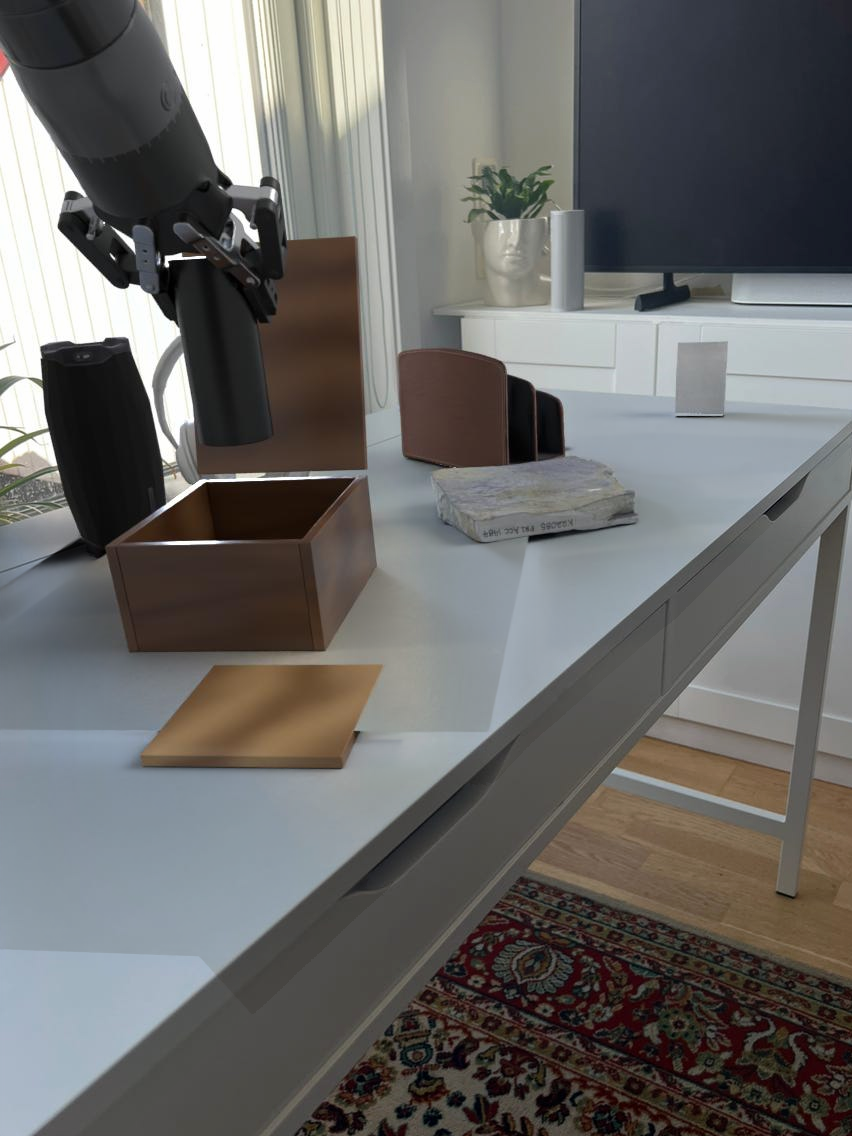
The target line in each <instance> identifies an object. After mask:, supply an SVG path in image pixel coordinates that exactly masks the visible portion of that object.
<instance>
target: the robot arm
mask: <svg viewBox="0 0 852 1136" xmlns="http://www.w3.org/2000/svg"><path fill="white" fill-rule="evenodd" d="M0 50H1V52H2V54H3V56H4V57H5V59H6V61H7V63H8V65H9V67H10V69H11V71H12V74H13V76H14V78H15V80H16V82H17V85H18V87H19V89H20V91H21V93H22V94H23V96H24V98H25V100H26V101H27V103H28V104H29V106H30V108H31V110H32V111H33V113H34V115H35V116H36V117H37V119H38V121H39V122H40V124H41V125H42V127H43V128H44V130H45V131H46V133H47V134H48V136H49V138H50V140H51V141H52V143H53V144H54V146H55V148H56V149H57V150H58V152H59V154H60V156H61V158H63V160H64V162H65V164H66V165H67V166H68V168H69V170H70V171H71V173H72V175H73V176H74V178H75V179H76V181H77V182H78V184H79V186H80V188H81V189H82V190H83V192H84V193H85V196H84V195H83V194H82V193H80V192H79V191H76V190H68V191H66V192H65V194H64V197H63V200H62V203H61V206H60V212H59V217H58V220H57V221H58V222H57V230H58V231H59V232H60V233H61V234H62V235H63V236H64V237H65V238H66V239H67V240H68V241H69V242H70V243H71V245H73V246H74V247H75V248H76V249H77V250H78V252H80V254H81V255H82V256H83V257H84V258H86V260H87V261H88V262H89V263H90V264H91V265H92V266H93V267H94V268H95V269H96V270H97V271H98V272H99V273H100V274H101V275H102V276H103V277H104V278H105V279H106V280H107V281H108V282H109V283H110V284H111V285H112V286H113V287H115V288H117V289H120V290H126V289H128V288H130V285H135V286H139V287H140V289H141V290H142V291H143V292H145V293H147V294H149V295H151V297H152V299H153V300H154V302H155V303H156V305H157V306H158V309H159V310H160V311H161V313H162V314H163V316H164V317H165V318H166V319H168V320H169V321H170V322H174V324H175V325H176V327H177V328H178V329H179V324H178V319H177V313H176V307H175V302H174V296H173V290H172V285H171V279H170V273H169V268H168V266H166V257H169V256H176V255H178V254H182V253H183V252H186V253H194V254H203V255H204V256H205V257H206V258H207V259H208V260H209V261H210V262H211V263H212V264H213V265H214V266H216V267H217V268H218V269H219V270H221V271H222V270H225V269H227V270H228V271H229V272H230V273H231V274H232V275H233V276H234V277H235V278H236V279H237V280H238V281H240V282H241V283H242V284H243V291H244V293H245V295H246V297H247V299H248V301H249V303H250V305H251V307H252V309H253V311H254V313H255V315H256V317H257V319H258V321H259V323H260V324H263V323H271V322H272V315H276V311H277V304H278V296H279V293H278V291H277V288H276V286H275V284H274V282H273V280H280V279H282V278H283V276H284V269H285V262H286V255H287V247H288V243H287V240H288V235H287V228H286V220H285V213H284V205H283V198H282V189H281V188H282V187H281V183H280V182H279V180H278V179H276V178H275V177H273V176H270V175H269V176H268V175H266V176H263V177H261V178H260V180H259V183H258V186H251V185H240V184H234V183H233V181H232V180H231V178H230V177H229V176H228V175H227V174H225V172H223V171H222V170H221V169H220V168H219V167H218V166H217V164H216V162H215V159H214V156H213V153H212V151H211V148H210V144H209V142H208V139H207V137H206V135H205V133H204V131H203V128H202V125H201V124H200V122H199V119H198V117H197V115H196V113H195V111H194V108H193V107H192V104H191V102H190V99H189V96H188V95H187V93H186V91H185V88H184V86H183V85H182V82H181V79H180V78H179V76H178V74H177V71H176V69H175V67H174V65H173V63H172V60H171V58H170V56H169V54H168V53H169V52H168V51H167V49H166V47H165V44H164V42H163V40H162V38H161V36H160V34H159V32H158V30H157V28H156V26H155V25H154V23H153V21H152V20H151V18H150V16H149V14H148V12H146V10H145V9H144V7H143V5H142V4H141V2H140V0H0ZM233 209H235V210H237V211H239V212H241V213H242V214H243V216H244V218H245V220H246V221H247V222H248V223H249V228H250V229H251V230H253V231H257V235H258V242H260V247H259V246H258V245H257V244H256V243H255V242H256V241H255V240H253V238H251V237H250V236H249V235H248V234H247V233H246V231H245V227H244V225H243V223H242V221H241V220H240V219H239V217H238V216H237V215H235V214H234V212H232V211H233ZM117 231H118V232H120V233H121V234H123V235H125V236H126V237H127V238H129V239H131V240H132V242H133V243H134V245H133V246H134V250H133V249H132V248H131V247H130V246H129V245H128V243H126V241H125V240H124V239H123V238H122V237H121V236H120V234H118V232H117ZM241 256H242V257H243V258H244V259H243V258H242V257H241Z"/></svg>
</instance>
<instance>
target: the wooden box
mask: <svg viewBox="0 0 852 1136" xmlns="http://www.w3.org/2000/svg"><path fill="white" fill-rule="evenodd" d="M369 488H370V487H369V478H368V475H367V474H363V475H362V474H361V475H360V474H359V475H332V476H331V475H329V476H326V475H325V476H309V477H291V478H264V477H262V478H261V477H260V478H259V477H258V478H236V479H223V480H200V481H199V482H197V483H196V484H194V485H191V486H190V487H188V488H187V489H186V490H184V491H183V492H181V493H180V494H178V495H177V496H176V497H174V498H172V499H171V500H170V501H168V502H166V505H164V506H163V507H161V508H160V509H158V510H157V511H155V512H154V513H153V514H151V515H150V516H148V517H147V518H145V519H144V520H142V521H141V522H140V523H138V524H137V525H135V526H134V527H132V528H131V529H129V530H128V531H127V532H125V533H124V534H122V535H121V536H119V537H118V538H117V539H115V540H114V541H112V542H111V543H109V544H108V545H106V546H105V549H106V551H105V553H106V559H107V562H108V566H109V571H110V575H111V579H112V580H111V581H112V585H113V587H114V593H115V596H116V601H117V606H118V610H119V615H120V619H121V623H122V629H123V631H124V632H123V633H124V636H125V641H126V646H127V650H128V652H129V653H256V652H257V653H260V652H263V653H264V652H265V653H267V652H274V653H275V652H279V653H280V652H281V653H282V652H327V651H326V650H327V649H328V648H329V646H330V644H331V643H332V641H333V639H334V638H335V636H336V634H337V633H338V631H339V629H340V628H341V626H342V624H343V623H344V621H345V619H346V618H347V616H348V614H349V613H350V612H351V610H352V609H353V607H354V605H355V603H356V602H357V600H358V598H359V596H360V595H361V593H362V592H363V590H364V588H365V587H366V585H367V583H368V582H369V580H370V579H371V577H372V575H373V573H374V572H375V570H376V568H377V566H378V563H377V562H378V561H377V552H376V542H375V536H374V535H375V533H374V525H373V516H372V506H371V498H370V497H371V496H370V489H369Z"/></svg>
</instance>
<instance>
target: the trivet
mask: <svg viewBox="0 0 852 1136" xmlns="http://www.w3.org/2000/svg"><path fill="white" fill-rule="evenodd" d="M384 666H385V664H381V663H380V664H215V665H213V666H212V667H211V669H210V670H209V671H208V672H207V674H206V675H205V676H204V677H203V679H201V681H199V683H198V684H197V685H196V687H195V688H194V689H193V691H191V692H190V694H189V695H188V696H187V698H186V699H185V700H184V702H182V704H181V705H180V706H179V707H178V709H177V710H176V711H174V713H173V715H171V717H170V718H169V719H168V720H167V722H165V724H164V725H163V727H162V728H161V729H160V730H159V731H158V732H157V734H156V735H155V736H154V737H153V739H152V740H151V741H150V742H149V743H148V744H147V746H146V747H145V748H144V750H142V752H141V753H140V754H139V756H140V763H141V766H142V767H170V768H171V767H177V768H178V767H180V768H181V767H183V768H185V767H187V768H188V767H189V768H191V767H192V768H278V769H279V768H281V769H282V768H287V769H289V768H290V769H293V768H294V769H343V768H344V766H345V765H346V763H347V760H348V758H349V756H350V754H351V751H352V749H353V747H354V744H355V743H356V740H357V738H358V736H359V733H360V730H355V729H356V727H357V725H358V723H359V720H360V718H361V716H362V714H363V712H364V710H365V707H366V705H367V703H368V701H369V699H370V697H371V694H372V692H373V691H374V688H375V686H376V684H377V682H378V680H379V677H380V675H381V673H382V670H383V668H384Z"/></svg>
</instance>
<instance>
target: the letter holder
mask: <svg viewBox="0 0 852 1136" xmlns="http://www.w3.org/2000/svg"><path fill="white" fill-rule="evenodd" d="M396 361H397V365H396V366H397V381H398V404H399V405H398V407H399V419H400V437H401V438H400V439H401V452H402V453H401V454H402V456H403V458H406V457H409V458H408V459H412V458H414V459H413V460H417V461H421V460H423V461H422V462H426V461H427V462H426V463H430V462H433V463H432V464H434V463H437V464H436V465H439V464H442V465H441V466H443V465H446V466H445V467H447V466H451V467H456V468H467V467H486V466H506V465H514V464H522V463H528V462H538V461H544V460H551V459H557V458H562V457H566V439H565V438H566V437H565V420H564V418H565V417H564V415H565V414H564V405H563V403H562V400H560V398H558V397H557V396H555V395H553V394H551V393H549V392H546V391H542V390H538V389H536V388H535V386H534V384H533V383H532V382H531V381H529V380H527V379H525V378H521V377H518V376H516V375H512V374H509V373H508V370H507V367H506V365H505V363H504V362H503V361H502V360H500V359H498V358H495V357H492V356H489V355H486V354H482V353H478V352H475V351H468V350H465V349H464V350H463V349H458V348H453V347H452V348H451V347H421V348H411V349H405V350H402V351H399V353H398V354H397V358H396ZM451 467H450V468H451Z"/></svg>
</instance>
